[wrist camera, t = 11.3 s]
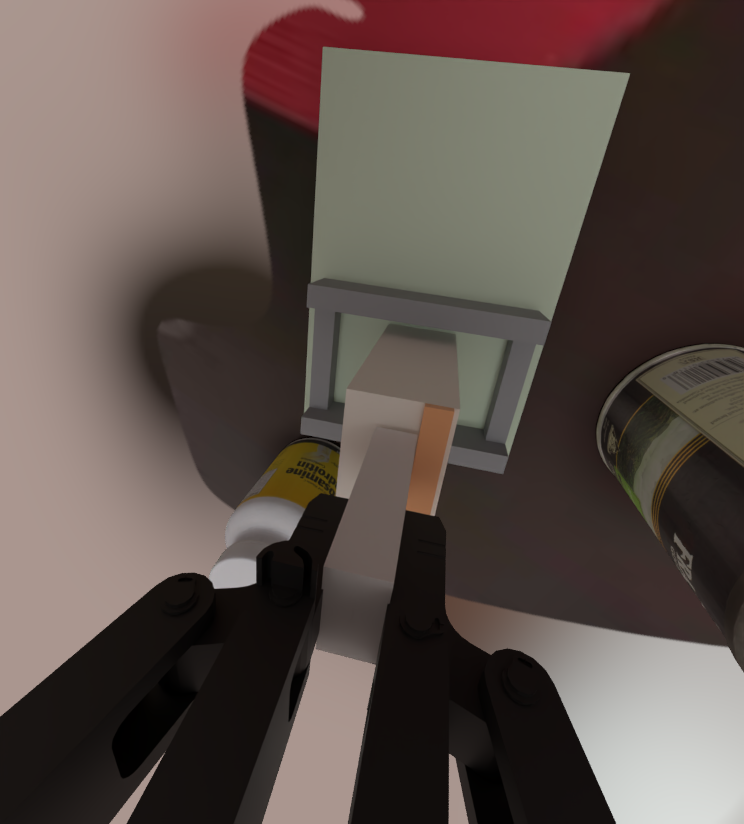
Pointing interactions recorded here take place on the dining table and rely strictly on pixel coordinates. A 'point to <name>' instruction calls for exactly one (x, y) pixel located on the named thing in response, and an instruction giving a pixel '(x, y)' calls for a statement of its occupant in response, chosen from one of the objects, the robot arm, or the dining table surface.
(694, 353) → the coffee can
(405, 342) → the white orange rectangular block
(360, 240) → the board
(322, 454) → the pill bottle
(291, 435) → the dining table surface
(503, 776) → the robot arm
